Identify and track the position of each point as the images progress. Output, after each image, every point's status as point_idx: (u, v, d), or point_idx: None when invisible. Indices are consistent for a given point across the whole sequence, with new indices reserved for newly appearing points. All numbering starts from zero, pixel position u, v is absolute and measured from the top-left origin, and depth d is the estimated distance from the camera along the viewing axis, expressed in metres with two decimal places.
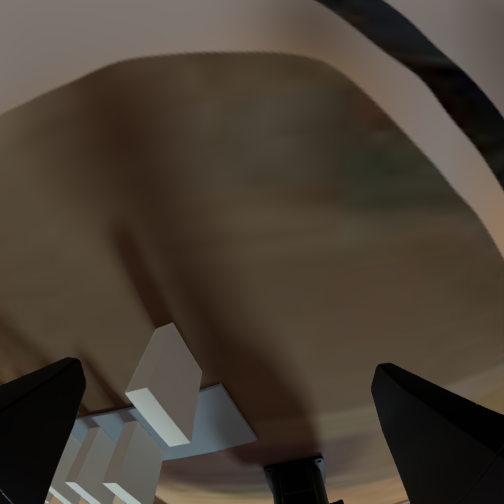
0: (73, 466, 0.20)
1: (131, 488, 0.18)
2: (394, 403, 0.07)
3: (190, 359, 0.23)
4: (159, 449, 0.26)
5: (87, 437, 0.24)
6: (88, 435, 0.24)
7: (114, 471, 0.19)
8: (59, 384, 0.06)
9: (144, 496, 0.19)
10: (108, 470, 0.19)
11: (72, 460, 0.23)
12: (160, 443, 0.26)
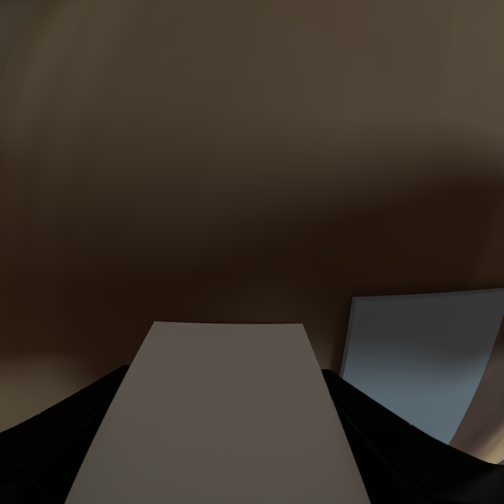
0: None
1: None
2: None
3: (247, 335, 0.09)
4: None
5: None
6: None
7: None
8: None
9: None
10: None
11: None
12: None
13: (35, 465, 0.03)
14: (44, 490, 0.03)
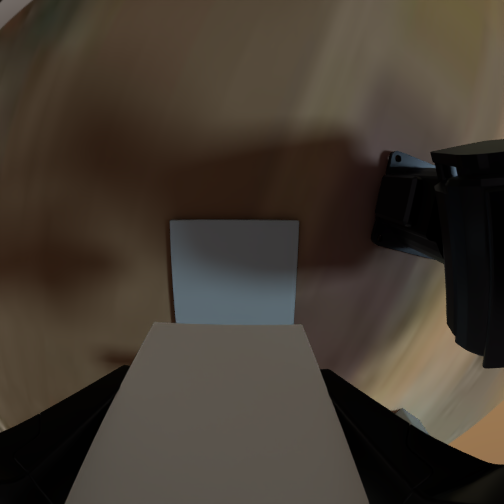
0: None
1: None
2: None
3: (247, 336, 0.09)
4: None
5: None
6: None
7: None
8: None
9: None
10: None
11: None
12: None
13: (36, 464, 0.03)
14: (44, 490, 0.03)
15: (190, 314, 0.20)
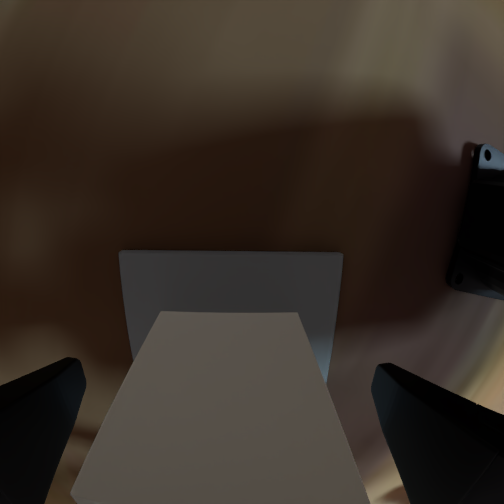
0: None
1: None
2: (394, 403, 0.07)
3: (246, 322, 0.10)
4: None
5: None
6: None
7: None
8: (59, 384, 0.06)
9: None
10: None
11: None
12: None
13: None
14: None
15: None
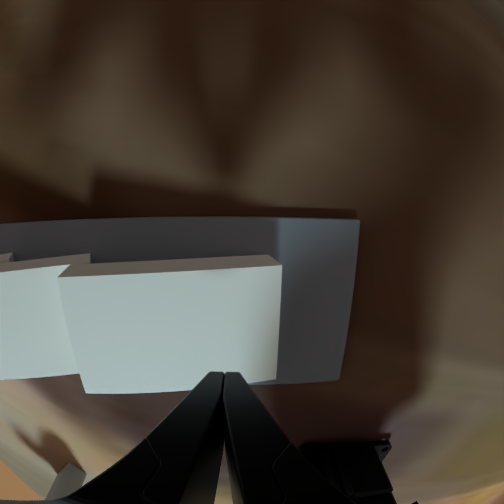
0: None
1: None
2: (224, 417, 0.07)
3: (259, 344, 0.12)
4: None
5: None
6: None
7: None
8: (221, 404, 0.07)
9: None
10: None
11: None
12: None
13: (171, 498, 0.03)
14: None
15: (207, 244, 0.12)
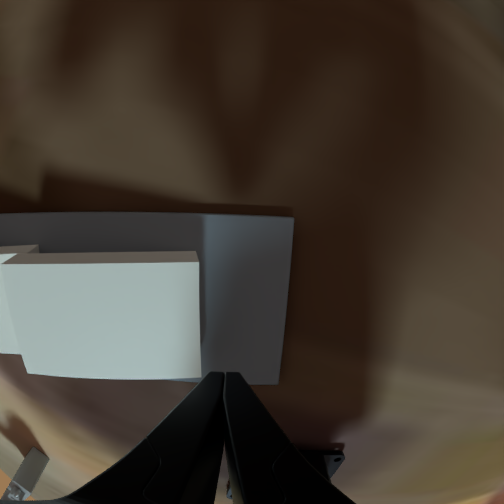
0: None
1: None
2: (224, 417, 0.07)
3: (180, 340, 0.11)
4: None
5: None
6: None
7: None
8: (221, 404, 0.07)
9: None
10: None
11: None
12: None
13: (171, 498, 0.03)
14: None
15: (138, 239, 0.12)
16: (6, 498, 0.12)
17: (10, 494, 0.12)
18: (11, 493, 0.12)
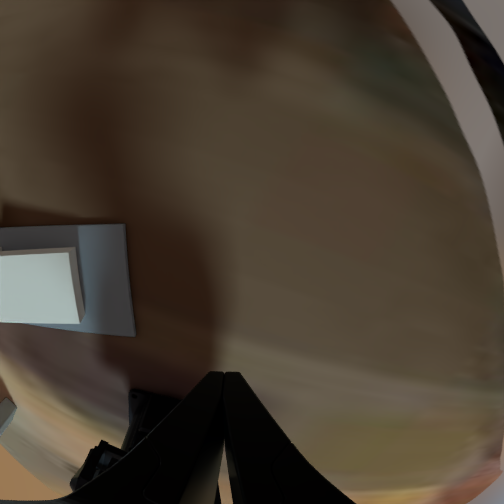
0: None
1: None
2: (224, 417, 0.07)
3: (65, 298, 0.18)
4: None
5: None
6: None
7: None
8: (221, 404, 0.07)
9: None
10: None
11: None
12: None
13: (171, 499, 0.03)
14: None
15: (48, 241, 0.19)
16: None
17: None
18: None
